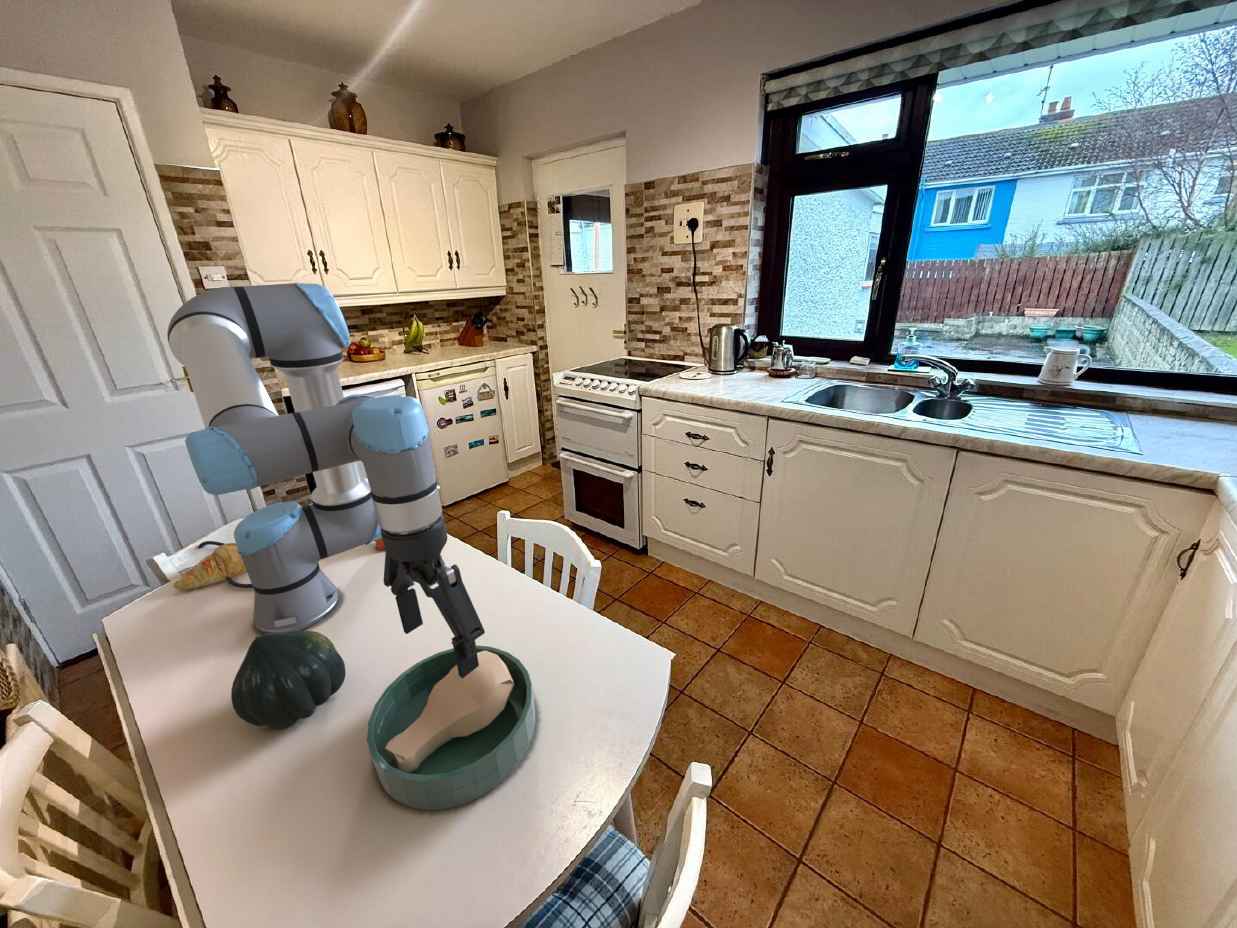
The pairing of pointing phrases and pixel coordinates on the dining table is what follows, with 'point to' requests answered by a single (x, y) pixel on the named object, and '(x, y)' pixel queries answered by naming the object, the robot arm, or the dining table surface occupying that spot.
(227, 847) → the dining table surface
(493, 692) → the squash
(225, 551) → the croissant
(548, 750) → the dining table surface
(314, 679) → the squash
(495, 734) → the bowl
